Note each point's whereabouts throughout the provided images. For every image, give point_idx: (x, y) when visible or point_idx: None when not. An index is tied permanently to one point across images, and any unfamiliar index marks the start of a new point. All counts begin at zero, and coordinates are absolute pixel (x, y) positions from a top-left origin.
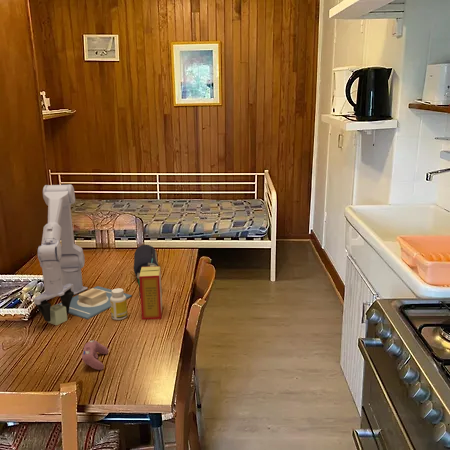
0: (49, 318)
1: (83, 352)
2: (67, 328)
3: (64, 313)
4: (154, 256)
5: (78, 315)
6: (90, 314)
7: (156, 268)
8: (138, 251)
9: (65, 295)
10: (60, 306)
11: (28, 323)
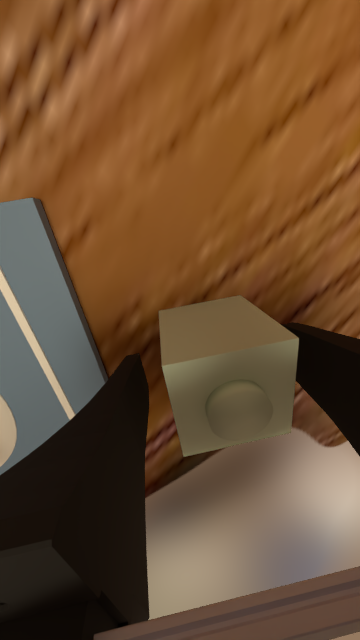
0: (306, 328)
1: None
2: (228, 192)
3: (180, 331)
4: None
5: (75, 303)
6: None
7: None
8: None
9: (108, 540)
10: (193, 403)
11: (296, 407)
